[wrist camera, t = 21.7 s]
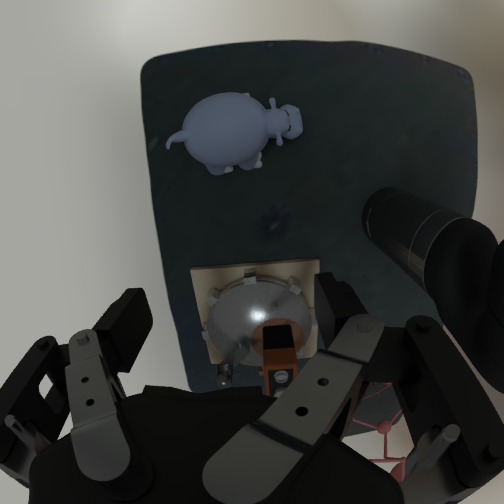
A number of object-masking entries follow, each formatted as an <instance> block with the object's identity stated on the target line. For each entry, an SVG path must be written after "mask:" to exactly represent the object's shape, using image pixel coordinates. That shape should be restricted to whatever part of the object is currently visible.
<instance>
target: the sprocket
mask: <svg viewBox="0 0 504 504" xmlns="http://www.w3.org/2000/svg"><path fill="white" fill-rule="evenodd" d="M301 291H302V288H301V285H300V282H298V281H297V280H295V279H294V278H292V277H291V278H290V279H289V280H288V281H287V282H286V281H284V280H281V279H279V278H275V277H270V276H256V271H255V269H254V270H247V271H244V278H242V279H239V280H236V281H234V282H232V283H230V284H229V285H227V286H226V287H224V288H223V289H222V290H221V291H218V290H216V289H215V288H214V289H213V290H212V291H211V293H210V294H209V295H208V299H207V302H206V304H208V305H209V306H211V308H210V312H209V316H208V320H207V323H204V324H203V328H202V331H201V332H202V335H203V338H204V340H206V339H211V341H212V343H213V345H214V346H215V347H216V349H217V350H218V351H219V352H220V353H222V354H223V355H224V360H223V361H222V362H221V363H220V364H219V365H218V374H217V381H216V387H217V388H218V389H219V390H220V389H225V388H230V387H231V384H232V374H233V369H234V368H235V367H236V366H237V365H238V364H239V363H241V364H244V365H249V366H262V368H263V333H262V330H263V327H264V326H276V325H290V326H291V328H292V334H293V339H294V345H295V351H296V354H297V355H299V356H302V355H303V354H304V353H305V352H306V351H307V348H306V343H307V341H308V339H309V336H310V334H311V329H312V326H314V325H318V323H317V320H316V317H315V311H314V308H312V309H309V308H308V305H307V302H306V300H305V298H304V297H303V295H302V294H301V293H300V292H301ZM263 370H264V368H263Z"/></svg>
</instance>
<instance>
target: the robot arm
mask: <svg viewBox="0 0 504 504" xmlns="http://www.w3.org/2000/svg"><path fill="white" fill-rule="evenodd" d="M362 220H363V227H364V231H365V233H366V235H367V237H368V238H369V239H370V240H371V241H372V242H373V243H374V244H375V245H376V246H377V247H379V248H380V249H381V250H382V251H383V252H384V253H385V254H386V255H387V256H388V257H390V258H391V259H392V260H393V261H394V262H395V263H396V264H397V265H398V266H399V267H400V268H401V269H402V270H403V271H405V272H406V273H407V274H408V275H409V276H410V277H411V278H412V279H413V280H414V281H415V282H416V283H417V284H418V285H419V286H420V287H421V288H422V289H423V290H424V291H425V292H426V293H427V294H428V295H429V296H430V297H431V298H432V299H433V300H434V302H435V304H436V307H437V311H438V314H439V316H440V318H441V320H442V322H443V323H444V325H445V326H446V328H447V329H448V330H449V331H450V333H451V334H452V336H453V337H454V338H455V340H456V341H457V343H458V344H459V345H460V347H461V348H462V350H463V351H464V352H465V354H466V355H467V357H468V358H469V360H470V361H471V363H472V364H473V365H474V367H475V368H476V369H477V371H478V372H479V373H480V375H481V376H482V377H483V378H484V379H485V380H486V381H487V382H488V383H489V384H490V385H491V386H492V387H493V388H495V389H496V390H497V391H499V392H501V393H503V394H504V240H502V241H501V242H500V244H499V245H498V243H497V240H496V238H495V236H494V234H493V233H492V232H491V230H490V229H489V228H488V227H486V226H485V225H483V224H482V223H480V222H478V221H476V220H473V219H471V218H469V217H466V216H464V215H462V214H460V213H457V212H455V211H452V210H450V209H448V208H445V207H443V206H440V205H438V204H436V203H433V202H430V201H428V200H425V199H423V198H420V197H418V196H415V195H412V194H410V193H407V192H404V191H401V190H399V189H395V188H385V189H382V190H380V191H378V192H376V193H375V194H374V195H373V196H372V197H371V198H370V199H369V200H368V202H367V204H366V206H365V209H364V212H363V219H362ZM314 311H315V317H316V320H317V323H318V326H319V329H320V332H321V335H322V339H323V342H324V345H325V348H326V350H324V349H319V350H317V351H316V353H315V354H314V355H313V356H312V358H311V359H310V360H309V361H308V363H307V364H306V365H305V366H304V368H303V369H302V370H301V371H300V373H299V374H298V375H297V376H296V378H295V379H294V380H293V381H292V382H291V383H290V385H289V386H288V387H287V388H286V389H285V391H284V392H283V393H282V394H281V395H280V396H279V397H278V398H277V397H273V396H269V395H263V394H262V387H261V386H250V387H230V388H225V389H220V390H215V391H210V392H205V393H193V392H189V391H185V390H181V389H177V388H173V387H165V386H149V385H145V387H144V390H143V392H142V393H140V394H136V395H132V396H128V397H126V394H125V392H124V389H123V387H122V384H121V382H120V379H119V377H118V376H117V374H118V372H125V373H129V372H130V370H131V368H132V366H133V364H134V362H135V360H136V358H137V356H138V354H139V352H140V350H141V348H142V346H143V344H144V342H145V340H146V338H147V336H148V334H149V332H150V330H151V328H152V325H153V317H152V314H151V310H150V307H149V304H148V301H147V298H146V294H145V292H144V290H143V288H128V289H127V290H126V291H125V292H124V293H123V294H122V296H121V297H120V298H119V299H118V300H116V301H115V302H114V303H112V304H111V305H110V307H109V308H108V309H107V311H105V313H104V314H103V316H101V318H100V319H99V320H98V322H97V323H96V324H95V325H94V327H93V328H92V329H86V330H82V331H79V332H77V333H76V334H74V335H73V336H72V337H71V338H70V340H69V344H63V345H58V343H57V341H56V339H55V338H54V337H53V336H45V337H43V338H40V339H39V340H37V341H36V342H35V343H34V344H33V346H32V347H31V348H30V349H29V351H28V352H27V353H26V354H25V356H24V357H23V359H22V360H21V361H20V362H19V364H18V365H17V366H16V368H15V369H14V370H13V372H12V373H11V374H10V376H9V377H8V379H7V380H6V382H5V383H4V384H3V386H2V387H1V389H0V469H1V470H3V471H4V472H5V473H6V474H8V475H9V476H10V477H12V478H14V479H15V480H17V481H18V482H19V483H20V484H22V485H23V486H25V487H26V488H29V503H28V504H457V503H459V502H460V501H462V500H464V499H465V498H467V497H468V496H470V495H471V494H472V493H474V492H475V491H477V490H478V489H480V488H481V487H482V486H484V485H485V484H486V483H488V482H489V481H490V480H491V479H493V478H494V477H495V476H496V475H498V474H499V473H500V472H501V471H502V470H504V424H503V422H502V420H501V419H500V417H499V415H498V413H497V411H496V410H495V408H494V406H493V404H492V402H491V401H490V399H489V397H488V395H487V394H486V392H485V390H484V389H483V387H482V386H481V384H480V382H479V381H478V379H477V378H476V376H475V374H474V373H473V371H472V370H471V368H470V367H469V365H468V364H467V362H466V361H465V359H464V358H463V356H462V355H461V353H460V352H459V350H458V349H457V348H456V346H455V345H454V343H453V342H452V341H451V339H450V338H449V336H448V335H447V334H446V332H445V331H444V330H443V328H442V327H441V326H440V324H439V323H438V322H437V321H436V320H434V319H433V318H431V317H428V316H422V315H419V316H413V317H411V318H409V319H408V320H407V322H406V326H405V328H397V327H385V326H384V323H383V321H382V320H381V319H380V318H378V317H377V316H374V315H371V314H368V312H367V311H366V309H365V308H364V306H363V304H362V303H361V301H360V299H358V296H357V295H356V294H355V292H354V290H353V288H352V287H351V286H350V285H348V284H347V283H345V282H344V281H341V282H337V281H336V280H335V278H334V276H333V274H332V273H331V272H326V273H317V274H314ZM45 374H47V376H48V377H49V379H50V380H51V382H52V383H53V385H52V387H51V389H50V390H49V392H48V394H47V396H46V397H45V399H44V398H43V397H42V396H41V394H40V392H39V384H40V382H41V380H42V379H43V377H44V376H45ZM371 382H392V385H393V388H394V390H395V393H396V395H397V398H398V401H399V403H400V406H401V409H402V412H403V414H404V417H405V420H406V423H407V425H408V429H409V431H410V434H411V437H412V440H413V444H414V448H413V449H412V451H411V452H410V453H409V455H408V456H407V458H406V460H405V476H404V479H403V481H400V482H397V480H396V479H395V478H394V477H393V476H392V475H391V474H390V473H388V472H387V471H385V470H384V469H382V468H380V467H379V466H377V465H376V464H374V463H373V462H371V461H369V460H368V459H366V458H365V457H363V456H362V455H360V454H359V453H358V452H356V451H355V450H353V449H352V448H350V447H349V446H347V445H346V444H344V443H343V442H342V439H343V438H344V436H345V434H346V432H347V430H348V428H349V426H350V424H351V422H352V419H353V417H354V415H355V413H356V411H357V410H358V408H359V406H360V404H361V402H362V400H363V398H364V396H365V394H366V392H367V390H368V388H369V386H370V384H371ZM70 411H71V416H72V421H73V428H72V429H71V431H70V433H69V434H67V435H65V436H64V437H63V438H61V439H59V440H57V439H58V437H59V435H60V432H61V430H62V428H63V426H64V424H65V421H66V419H67V417H68V415H69V413H70Z"/></svg>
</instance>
